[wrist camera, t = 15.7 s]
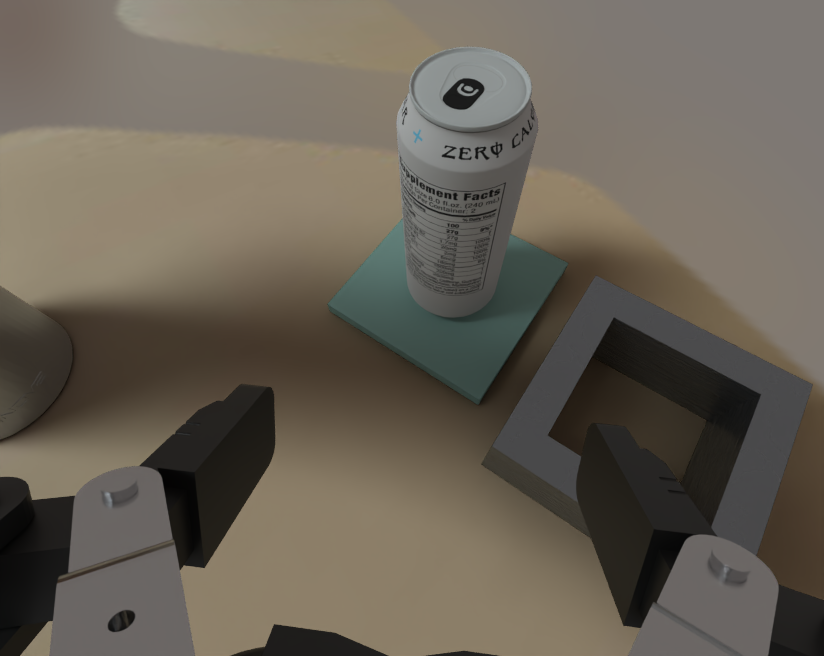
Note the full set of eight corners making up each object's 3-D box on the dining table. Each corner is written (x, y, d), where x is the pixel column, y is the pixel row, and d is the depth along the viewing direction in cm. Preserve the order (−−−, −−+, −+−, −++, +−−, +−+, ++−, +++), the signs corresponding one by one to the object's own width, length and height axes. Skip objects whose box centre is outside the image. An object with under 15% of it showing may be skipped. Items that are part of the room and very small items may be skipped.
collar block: (480, 464, 27) (491, 446, 23) (571, 315, 31) (595, 275, 27) (680, 598, 24) (739, 608, 19) (750, 411, 28) (812, 384, 24)
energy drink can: (510, 274, 32) (574, 68, 18) (465, 340, 30) (499, 162, 16) (437, 236, 33) (446, 21, 20) (389, 296, 31) (363, 100, 18)
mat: (330, 311, 32) (327, 304, 31) (426, 200, 36) (426, 191, 35) (478, 404, 29) (479, 400, 28) (564, 271, 33) (568, 263, 32)
